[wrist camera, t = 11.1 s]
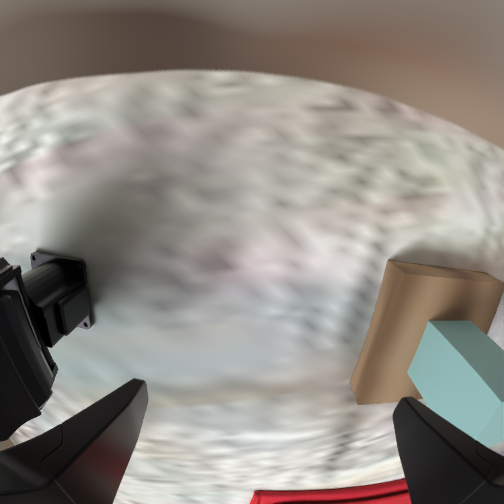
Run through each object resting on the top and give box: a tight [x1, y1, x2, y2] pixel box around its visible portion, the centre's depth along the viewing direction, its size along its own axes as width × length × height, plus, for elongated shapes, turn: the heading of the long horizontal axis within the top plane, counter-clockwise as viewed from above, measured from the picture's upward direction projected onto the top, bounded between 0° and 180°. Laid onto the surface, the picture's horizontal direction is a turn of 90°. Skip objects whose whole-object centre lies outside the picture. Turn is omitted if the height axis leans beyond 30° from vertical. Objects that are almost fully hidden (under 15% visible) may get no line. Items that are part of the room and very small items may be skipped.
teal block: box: [407, 321, 504, 448], centre depth 15 cm, size 5×5×10 cm
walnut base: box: [350, 260, 504, 405], centre depth 21 cm, size 12×12×3 cm
